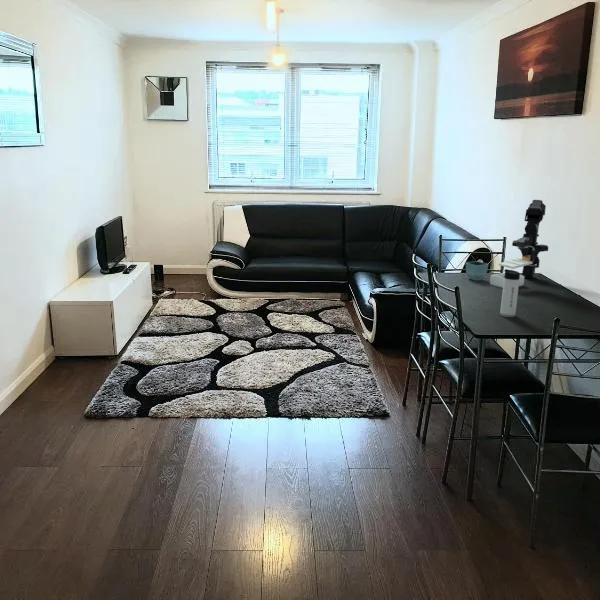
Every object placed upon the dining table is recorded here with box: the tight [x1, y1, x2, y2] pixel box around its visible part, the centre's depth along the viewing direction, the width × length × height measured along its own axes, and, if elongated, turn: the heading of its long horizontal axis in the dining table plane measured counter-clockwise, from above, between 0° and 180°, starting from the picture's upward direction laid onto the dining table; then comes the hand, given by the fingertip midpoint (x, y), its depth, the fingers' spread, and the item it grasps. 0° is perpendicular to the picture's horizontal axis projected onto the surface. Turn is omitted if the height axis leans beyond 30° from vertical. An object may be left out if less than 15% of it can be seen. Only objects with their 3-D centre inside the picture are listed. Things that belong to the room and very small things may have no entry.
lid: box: [498, 255, 533, 270], centre depth 314 cm, size 18×10×2 cm, turn 119°
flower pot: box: [465, 260, 489, 281], centre depth 329 cm, size 9×9×9 cm
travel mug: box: [499, 268, 521, 318], centre depth 265 cm, size 6×7×20 cm
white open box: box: [489, 272, 525, 289], centre depth 320 cm, size 14×10×5 cm
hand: (527, 262), depth 318 cm, fingers closed on lid, 4 cm apart
